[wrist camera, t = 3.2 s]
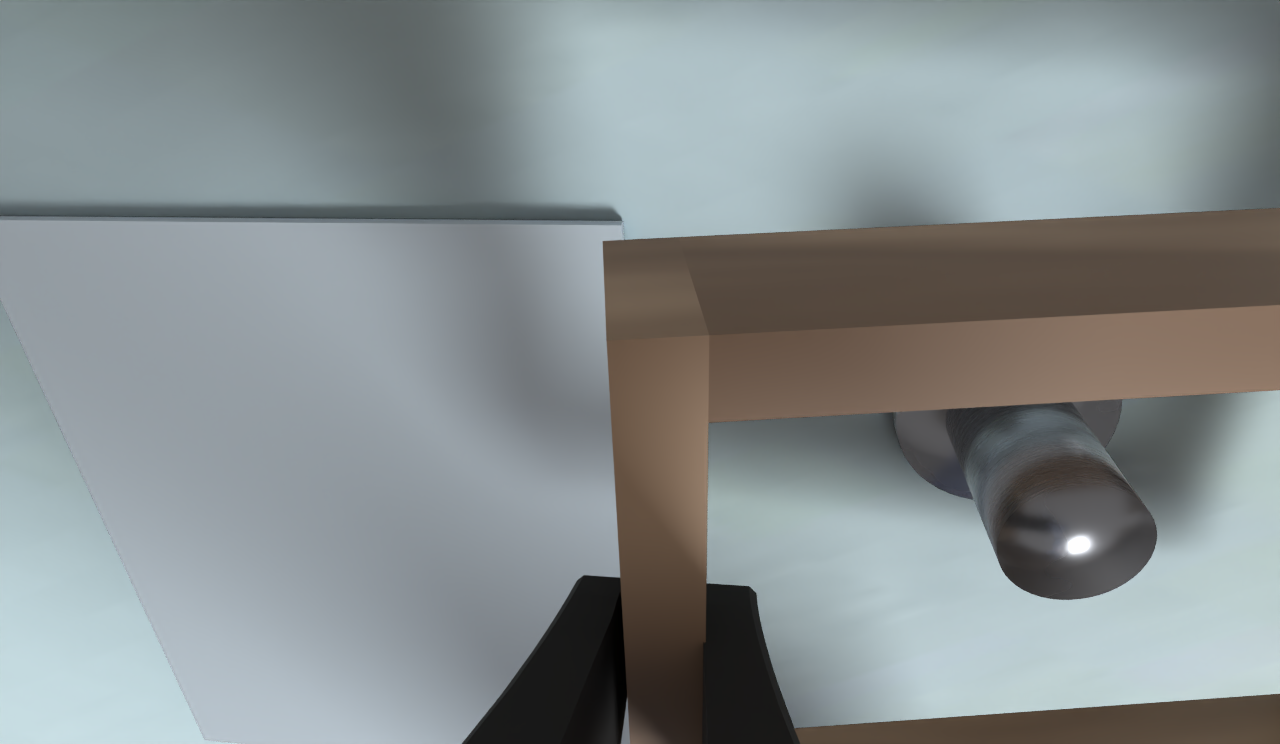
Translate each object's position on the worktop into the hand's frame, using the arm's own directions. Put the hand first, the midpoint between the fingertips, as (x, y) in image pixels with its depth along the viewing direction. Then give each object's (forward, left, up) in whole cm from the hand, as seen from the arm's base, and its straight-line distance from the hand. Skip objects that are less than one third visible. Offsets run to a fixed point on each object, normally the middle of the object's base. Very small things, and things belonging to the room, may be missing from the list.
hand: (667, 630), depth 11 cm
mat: (-5, +9, -7) cm, 12 cm away
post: (0, -6, -7) cm, 9 cm away
